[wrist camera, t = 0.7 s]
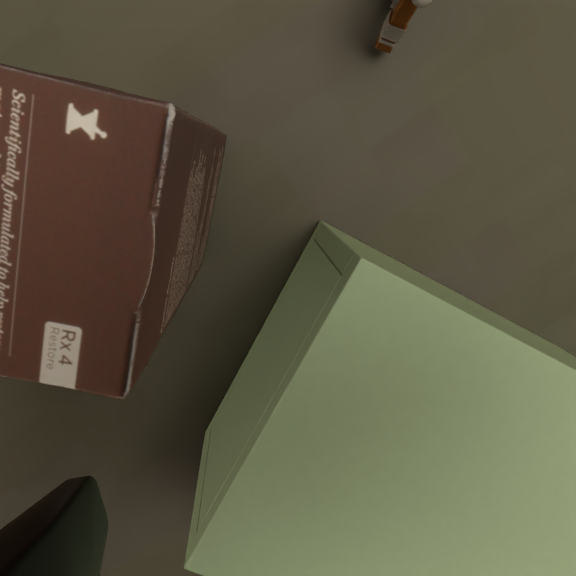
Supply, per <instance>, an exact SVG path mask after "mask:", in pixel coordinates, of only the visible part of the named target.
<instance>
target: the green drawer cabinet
mask: <svg viewBox="0 0 576 576" xmlns="http://www.w3.org/2000/svg"><path fill="white" fill-rule="evenodd" d="M184 569H186V570H189V571H192V572H194V573H197V574H200V575H203V576H576V357H574V356H573V355H571V354H569V353H568V352H566V351H565V350H563V349H561V348H560V347H558V346H556V345H554V344H552V343H550V342H549V341H547V340H545V339H543V338H541V337H539V336H537V335H535V334H533V333H532V332H530V331H528V330H526V329H524V328H522V327H520V326H518V325H517V324H515V323H513V322H511V321H509V320H507V319H505V318H503V317H502V316H500V315H498V314H496V313H494V312H492V311H490V310H488V309H487V308H485V307H483V306H481V305H479V304H477V303H475V302H473V301H472V300H470V299H468V298H466V297H464V296H462V295H460V294H458V293H456V292H455V291H453V290H451V289H449V288H447V287H445V286H443V285H441V284H440V283H438V282H436V281H434V280H432V279H430V278H428V277H426V276H425V275H423V274H421V273H419V272H417V271H415V270H413V269H411V268H410V267H408V266H406V265H404V264H402V263H400V262H398V261H396V260H395V259H393V258H391V257H389V256H387V255H385V254H383V253H381V252H379V251H378V250H376V249H374V248H372V247H370V246H368V245H366V244H364V243H363V242H361V241H359V240H357V239H355V238H353V237H351V236H349V235H348V234H346V233H344V232H342V231H340V230H338V229H336V228H334V227H333V226H331V225H329V224H327V223H325V222H323V221H319V223H318V225H317V227H316V229H315V231H314V233H313V234H312V236H311V238H310V240H309V242H308V244H307V245H306V247H305V249H304V251H303V253H302V255H301V257H300V258H299V260H298V262H297V264H296V266H295V268H294V269H293V271H292V273H291V275H290V277H289V279H288V281H287V282H286V284H285V286H284V288H283V290H282V292H281V293H280V295H279V297H278V299H277V301H276V303H275V304H274V306H273V308H272V310H271V312H270V314H269V316H268V317H267V319H266V321H265V323H264V325H263V327H262V328H261V330H260V332H259V334H258V336H257V338H256V340H255V341H254V343H253V345H252V347H251V349H250V351H249V352H248V354H247V356H246V358H245V360H244V362H243V364H242V365H241V367H240V369H239V371H238V373H237V375H236V376H235V378H234V380H233V382H232V384H231V386H230V388H229V389H228V391H227V393H226V395H225V397H224V399H223V400H222V402H221V404H220V406H219V408H218V410H217V411H216V413H215V415H214V417H213V419H212V421H211V423H210V424H209V426H208V428H207V430H206V432H205V438H204V443H203V450H202V456H201V462H200V469H199V475H198V481H197V488H196V494H195V501H194V507H193V513H192V520H191V526H190V532H189V539H188V545H187V551H186V557H185V564H184Z"/></svg>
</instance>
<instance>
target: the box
mask: <svg viewBox="0 0 576 576" xmlns="http://www.w3.org/2000/svg"><path fill="white" fill-rule="evenodd" d="M225 143H226V134H225V133H223V132H221V131H220V130H218V129H216V128H214V127H213V126H210V125H209V124H207V123H205V122H203V121H201V120H199V119H197V118H195V117H193V116H191V115H189V114H188V113H187V112H185V111H183V110H181V109H179V108H178V107H176V106H174V105H173V104H172V103H169V102H164V101H159V100H154V99H150V98H146V97H142V96H138V95H133V94H129V93H125V92H122V91H119V90H115V89H112V88H108V87H103V86H99V85H95V84H91V83H87V82H82V81H78V80H73V79H68V78H63V77H58V76H53V75H48V74H43V73H38V72H34V71H29V70H25V69H21V68H17V67H13V66H9V65H5V64H1V63H0V376H4V377H10V378H15V379H21V380H26V381H32V382H38V383H43V384H48V385H53V386H58V387H64V388H68V389H73V390H78V391H83V392H88V393H93V394H97V395H101V396H106V397H110V398H115V399H124V398H125V397H126V396H127V395H128V394H129V393H130V392H131V390H132V388H133V386H134V385H135V383H136V381H137V379H138V378H139V376H140V374H141V372H142V371H143V369H144V367H145V366H146V364H147V362H148V360H149V358H150V357H151V355H152V353H153V352H154V350H155V348H156V346H157V345H158V343H159V340H160V339H161V337H162V335H163V333H164V331H165V329H166V327H167V326H168V324H169V322H170V321H171V319H172V317H173V316H174V314H175V312H176V310H177V308H178V306H179V305H180V303H181V301H182V300H183V298H184V296H185V294H186V292H187V290H188V289H189V287H190V285H191V283H192V281H193V280H194V278H195V276H196V274H197V272H198V270H199V268H200V267H201V265H202V261H203V257H204V252H205V247H206V243H207V238H208V233H209V228H210V223H211V218H212V213H213V208H214V202H215V197H216V193H217V187H218V182H219V177H220V171H221V166H222V160H223V155H224V149H225Z"/></svg>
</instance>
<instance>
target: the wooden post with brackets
mask: <svg viewBox="0 0 576 576" xmlns="http://www.w3.org/2000/svg"><path fill="white" fill-rule="evenodd" d="M390 1H393V2H392V4H391V6H390V8H392V9H394V10H392V9H391V11H390V12H389V14H388V16H387V18H386V20H385V21H384V24H383V28H382V29H381V33H380V34H379V36H378V38H377V43H376V47H375V48H377V49H379V50H382V51H385V52H388V53H390V52H391V50H392V48H394V46H395V43H398V42H399V41H400V39H401V38H402V36H403V34H404V33H405V31H406V28H407V23H408V22H409V20H410V19H411V17H412V15H413V14H414V12H415V11H416V9H417V7H420V8H422V7H426V6H427V5H428V4H430V3H431V2H432V0H390Z"/></svg>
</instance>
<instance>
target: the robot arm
mask: <svg viewBox="0 0 576 576" xmlns="http://www.w3.org/2000/svg"><path fill="white" fill-rule="evenodd" d="M107 531H108V520H107V514H106V511H105V508H104V505H103V501H102V498H101V495H100V491H99V488H98V485H97V482H96V480H95V479H94V478H93V477H92V476H84V477H78V478H73V479H69V480H66V481H65V482H63V483H62V484H61V485H59V486H58V487H57V488H55V489H54V490H53V491H51V492H50V493H49V494H47V495H46V496H45V497H43V498H42V499H41V500H39V501H38V502H37V503H35V504H34V505H33V506H31V507H30V508H29V509H27V510H26V511H25V512H23V513H22V514H21V515H19V516H18V517H17V518H15V519H14V520H13V521H11V522H10V523H9V524H7V525H6V526H5V527H3V528H2V529H1V530H0V576H99V575H100V570H101V564H102V559H103V553H104V548H105V542H106V537H107Z"/></svg>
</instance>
